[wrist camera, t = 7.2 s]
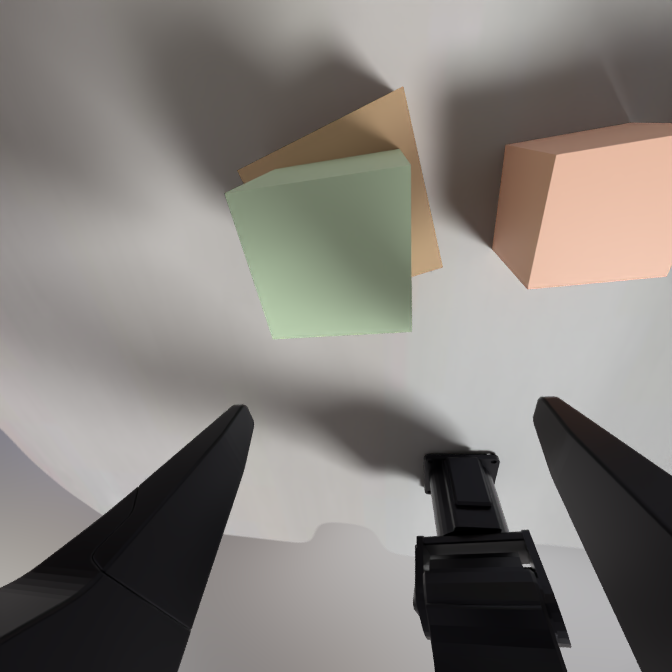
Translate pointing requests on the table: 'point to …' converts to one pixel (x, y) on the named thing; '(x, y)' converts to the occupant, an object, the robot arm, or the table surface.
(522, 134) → the table surface
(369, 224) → the sage block
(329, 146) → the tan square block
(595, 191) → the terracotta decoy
